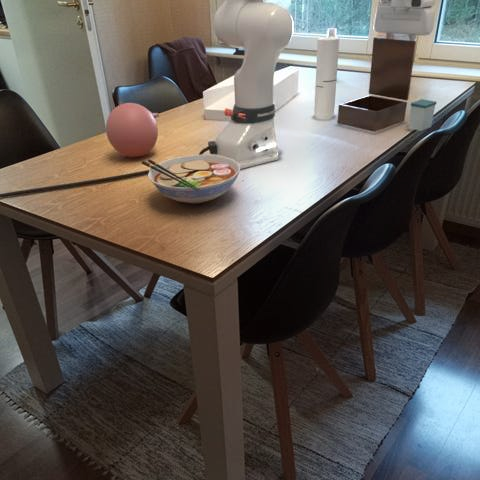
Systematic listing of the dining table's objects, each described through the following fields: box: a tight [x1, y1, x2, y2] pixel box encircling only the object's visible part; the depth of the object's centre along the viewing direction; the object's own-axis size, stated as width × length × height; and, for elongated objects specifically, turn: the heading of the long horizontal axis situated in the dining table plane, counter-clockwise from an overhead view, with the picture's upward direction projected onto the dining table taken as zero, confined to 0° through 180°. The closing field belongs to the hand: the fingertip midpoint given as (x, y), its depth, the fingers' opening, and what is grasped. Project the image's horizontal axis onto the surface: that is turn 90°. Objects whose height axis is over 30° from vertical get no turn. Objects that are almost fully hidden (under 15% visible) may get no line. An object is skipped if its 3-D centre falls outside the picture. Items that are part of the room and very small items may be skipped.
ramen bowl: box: [141, 153, 241, 205], centre depth 121 cm, size 25×23×8 cm
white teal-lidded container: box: [407, 98, 437, 132], centre depth 157 cm, size 6×5×8 cm
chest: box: [337, 94, 408, 133], centre depth 165 cm, size 17×16×7 cm
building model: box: [202, 69, 299, 122], centre depth 192 cm, size 45×22×10 cm, turn 157°
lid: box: [368, 37, 417, 102], centre depth 163 cm, size 17×16×5 cm
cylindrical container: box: [313, 36, 340, 119], centre depth 169 cm, size 7×7×25 cm
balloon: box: [105, 102, 160, 158], centre depth 149 cm, size 15×20×15 cm
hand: (399, 49), depth 160 cm, fingers closed on lid, 5 cm apart
